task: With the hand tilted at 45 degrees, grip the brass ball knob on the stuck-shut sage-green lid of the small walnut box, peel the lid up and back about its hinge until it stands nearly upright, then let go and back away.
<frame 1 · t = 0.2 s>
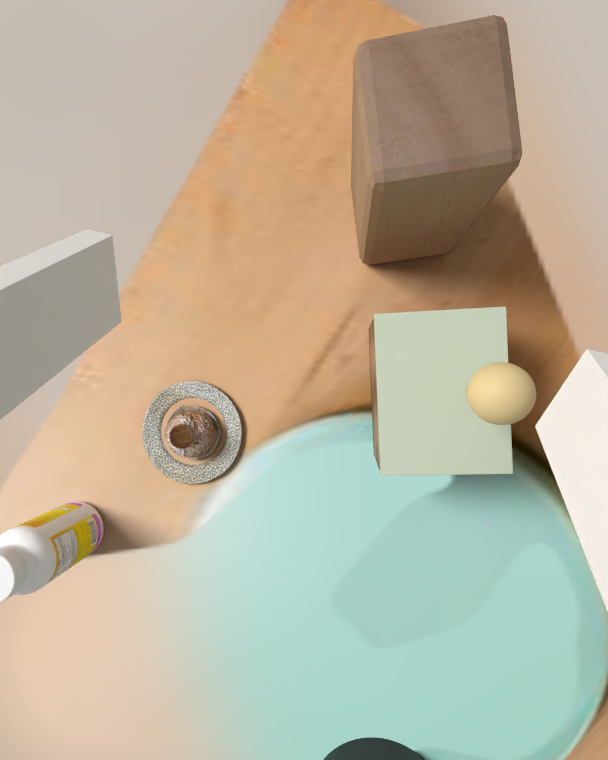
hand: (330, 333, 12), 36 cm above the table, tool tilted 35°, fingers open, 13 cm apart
speckled grey ring: (195, 430, 50), on the table
lid: (452, 394, 33), point 13 cm above the table, hinge at 0.0°
block: (399, 218, 47), on the table
box: (421, 389, 46), on the table
supplement bottle: (81, 526, 51), on the table
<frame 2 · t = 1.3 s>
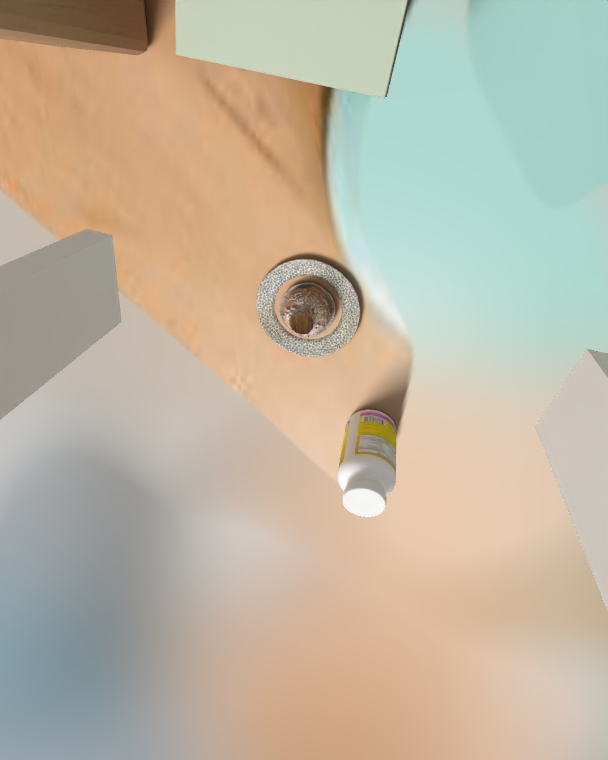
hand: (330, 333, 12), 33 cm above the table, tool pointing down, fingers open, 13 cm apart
speckled grey ring: (309, 306, 48), on the table
supplement bottle: (371, 425, 56), on the table
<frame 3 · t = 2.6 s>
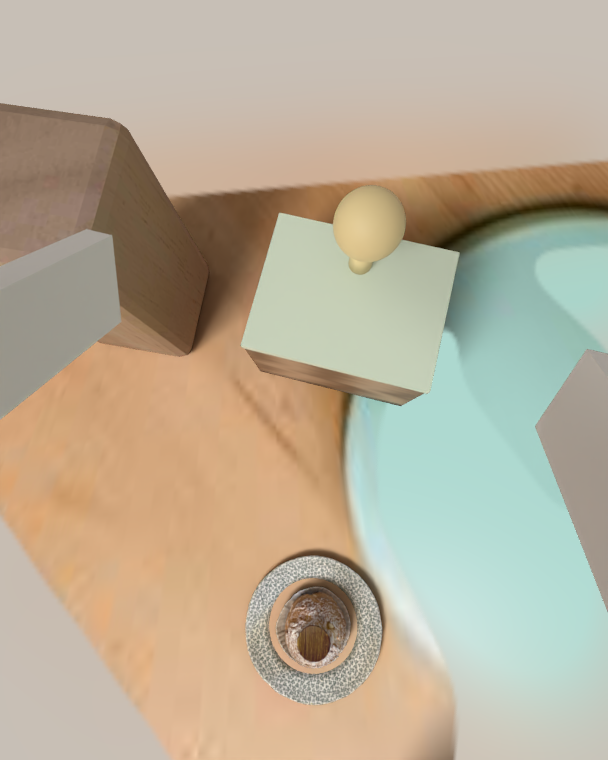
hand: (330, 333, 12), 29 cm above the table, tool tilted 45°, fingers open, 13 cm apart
speckled grey ring: (313, 622, 38), on the table
lid: (355, 279, 28), point 13 cm above the table, hinge at 0.0°
block: (156, 305, 43), on the table
box: (343, 335, 41), on the table
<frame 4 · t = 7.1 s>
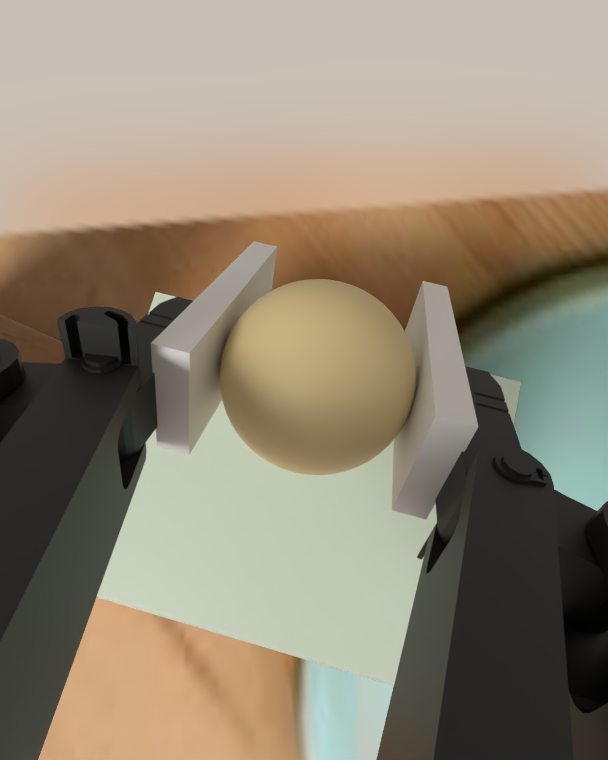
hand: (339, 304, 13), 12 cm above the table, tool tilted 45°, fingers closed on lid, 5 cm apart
lid: (290, 489, 12), point 13 cm above the table, hinge at 0.0°, touching gripper
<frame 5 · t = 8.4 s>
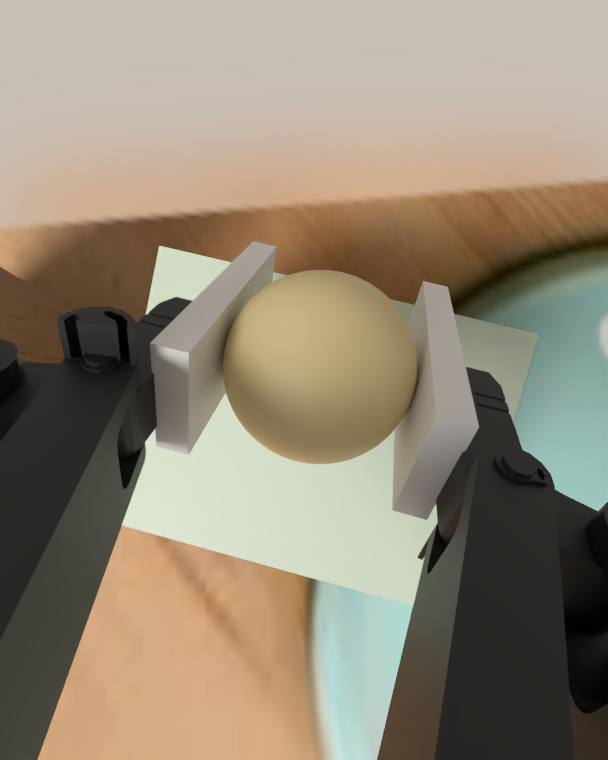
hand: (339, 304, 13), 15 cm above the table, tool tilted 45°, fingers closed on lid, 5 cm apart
lid: (299, 458, 12), point 15 cm above the table, hinge at 15.2°, touching gripper
block: (30, 390, 28), on the table
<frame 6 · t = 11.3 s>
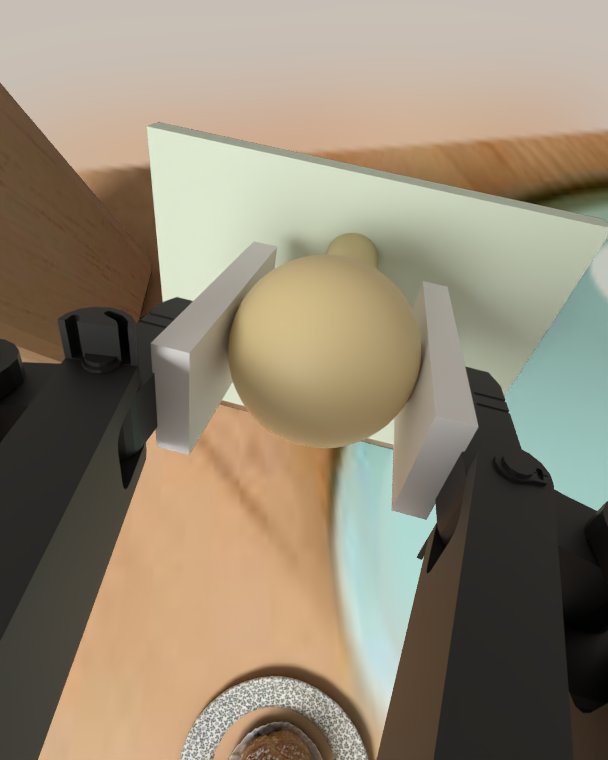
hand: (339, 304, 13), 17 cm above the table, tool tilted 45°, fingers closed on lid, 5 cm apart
lid: (318, 385, 14), point 16 cm above the table, hinge at 50.6°, touching gripper
block: (81, 314, 32), on the table
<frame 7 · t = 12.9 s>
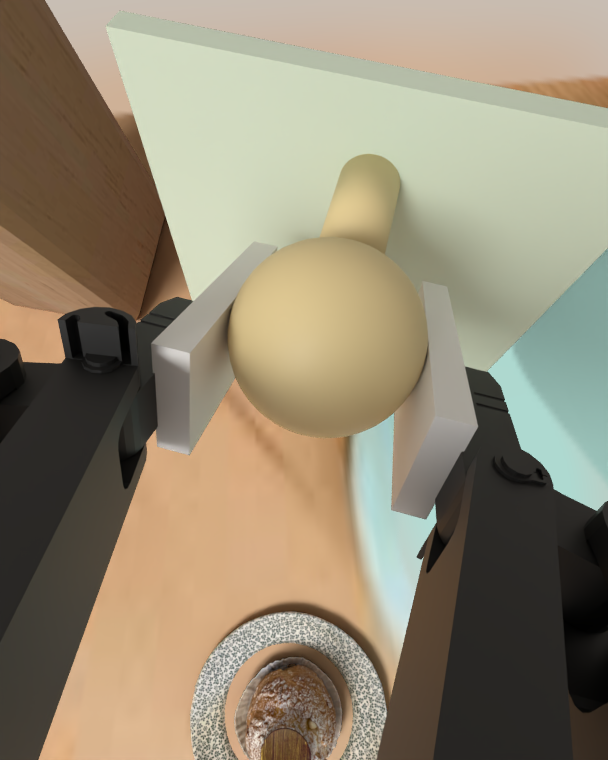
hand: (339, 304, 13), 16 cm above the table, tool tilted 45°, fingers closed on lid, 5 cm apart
speckled grey ring: (289, 707, 26), on the table
lid: (332, 334, 13), point 16 cm above the table, hinge at 73.7°, touching gripper
block: (94, 257, 32), on the table
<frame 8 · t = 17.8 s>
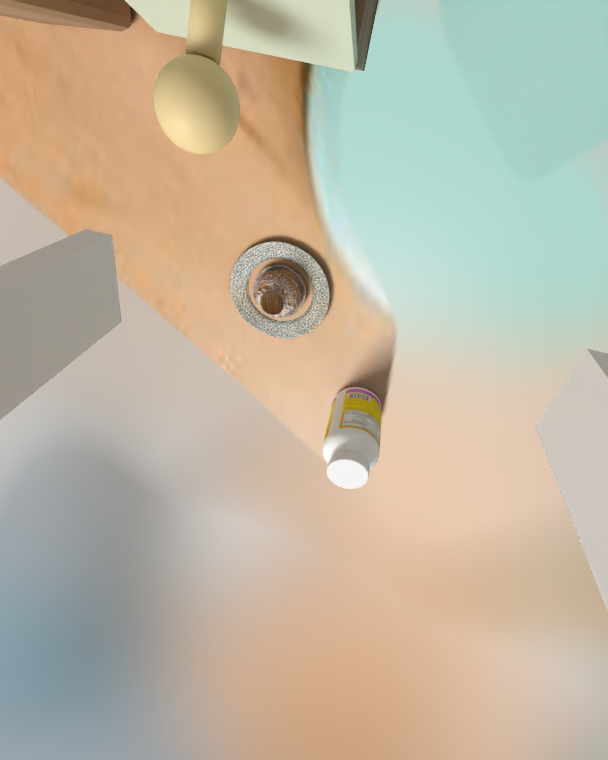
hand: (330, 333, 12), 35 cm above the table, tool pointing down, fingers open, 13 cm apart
speckled grey ring: (281, 289, 50), on the table
lid: (220, 82, 25), point 16 cm above the table, hinge at 74.1°
supplement bottle: (357, 403, 57), on the table
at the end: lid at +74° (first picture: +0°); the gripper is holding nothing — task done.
